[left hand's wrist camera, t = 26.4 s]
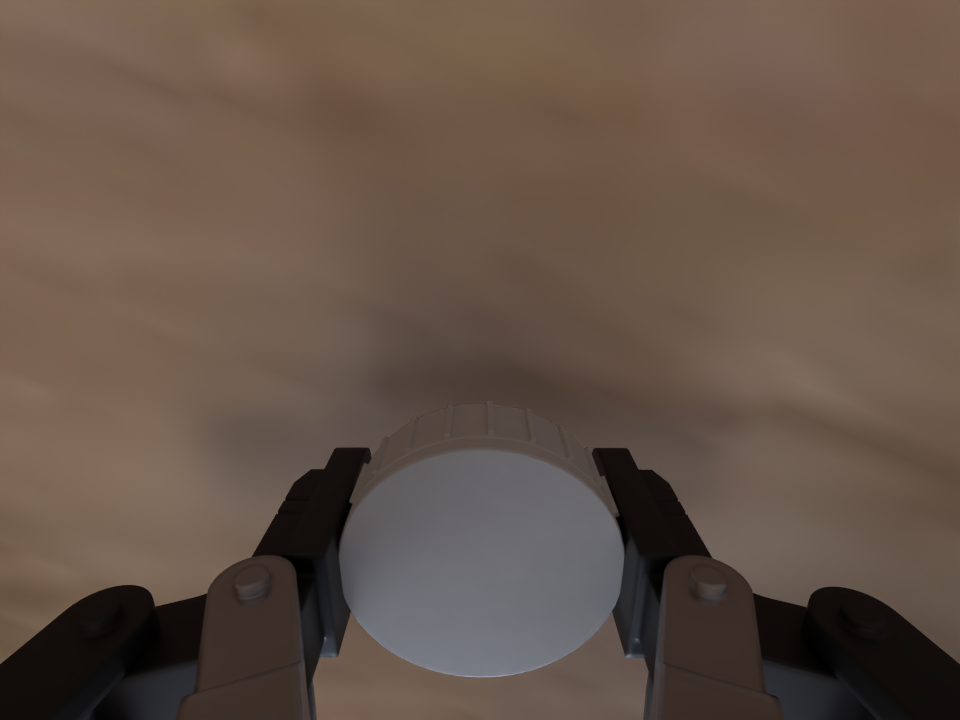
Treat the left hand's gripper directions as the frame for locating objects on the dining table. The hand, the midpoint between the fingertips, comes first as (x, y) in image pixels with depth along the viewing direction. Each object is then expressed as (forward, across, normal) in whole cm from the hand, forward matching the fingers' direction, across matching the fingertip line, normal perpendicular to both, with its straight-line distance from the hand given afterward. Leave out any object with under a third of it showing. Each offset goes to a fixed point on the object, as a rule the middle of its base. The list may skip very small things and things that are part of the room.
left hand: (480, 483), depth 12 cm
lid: (-3, 0, 0) cm, 3 cm away
